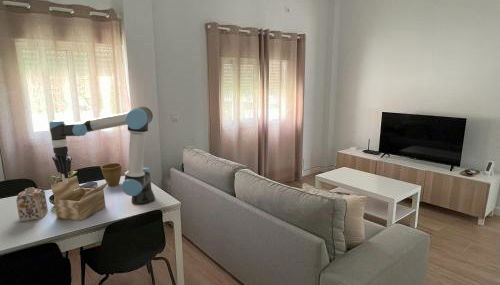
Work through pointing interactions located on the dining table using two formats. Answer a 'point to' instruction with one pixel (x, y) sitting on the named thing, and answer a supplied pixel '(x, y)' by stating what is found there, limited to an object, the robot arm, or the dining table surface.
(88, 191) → the near flap
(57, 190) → the far flap
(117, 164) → the plant pot
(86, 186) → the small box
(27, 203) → the decorative jar
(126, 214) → the dining table surface
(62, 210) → the carton
